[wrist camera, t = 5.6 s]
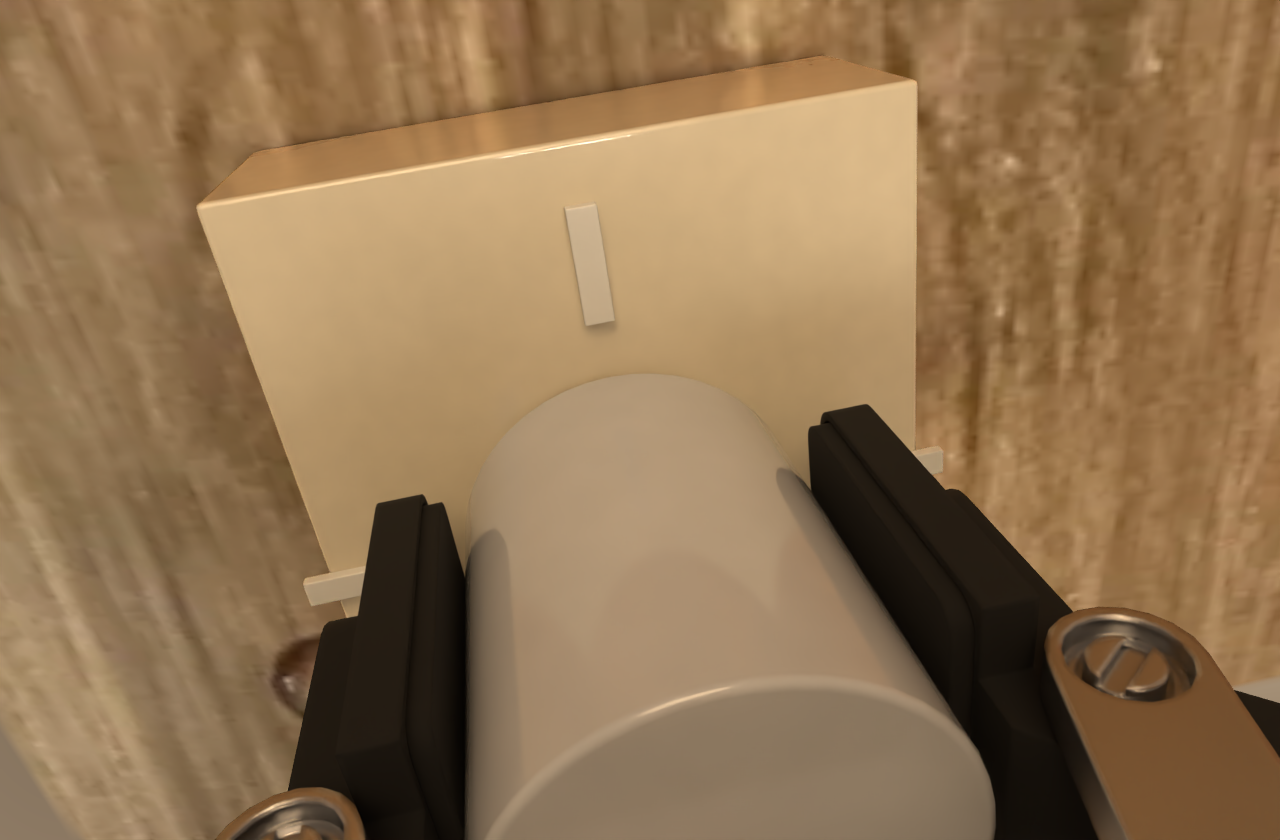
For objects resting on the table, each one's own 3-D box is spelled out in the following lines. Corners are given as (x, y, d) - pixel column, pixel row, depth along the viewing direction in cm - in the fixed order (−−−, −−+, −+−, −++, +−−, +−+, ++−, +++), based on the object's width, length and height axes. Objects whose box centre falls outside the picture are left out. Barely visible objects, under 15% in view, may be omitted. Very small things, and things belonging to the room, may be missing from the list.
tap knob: (781, 339, 11) (1036, 649, 6) (802, 614, 13) (1008, 1016, 8) (427, 409, 11) (394, 800, 6) (504, 682, 13) (528, 1146, 8)
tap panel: (862, 604, 18) (938, 725, 15) (415, 704, 17) (405, 852, 14) (847, 50, 13) (951, 75, 10) (228, 155, 12) (158, 213, 9)
